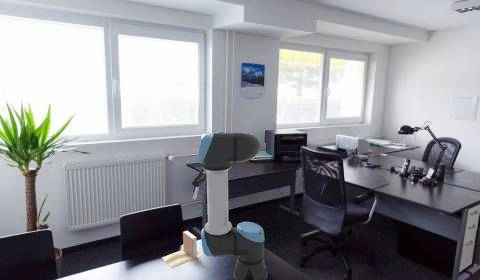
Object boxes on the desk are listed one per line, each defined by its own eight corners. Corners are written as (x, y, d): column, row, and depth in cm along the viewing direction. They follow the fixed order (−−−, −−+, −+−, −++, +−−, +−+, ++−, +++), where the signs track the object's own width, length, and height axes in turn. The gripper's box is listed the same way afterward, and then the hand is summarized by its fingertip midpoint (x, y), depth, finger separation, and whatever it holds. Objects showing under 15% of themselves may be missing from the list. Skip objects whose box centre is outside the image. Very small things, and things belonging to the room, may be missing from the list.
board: (202, 257, 146) (202, 255, 146) (172, 270, 136) (172, 268, 136) (190, 248, 154) (190, 246, 154) (161, 259, 144) (161, 257, 144)
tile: (197, 256, 145) (196, 237, 143) (192, 258, 144) (192, 239, 142) (187, 248, 152) (187, 230, 150) (183, 250, 151) (182, 232, 149)
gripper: (239, 168, 162) (230, 207, 156) (197, 161, 169) (187, 198, 163) (236, 164, 155) (226, 205, 149) (192, 157, 162) (181, 195, 156)
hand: (206, 201), depth 156 cm, fingers open, 13 cm apart
